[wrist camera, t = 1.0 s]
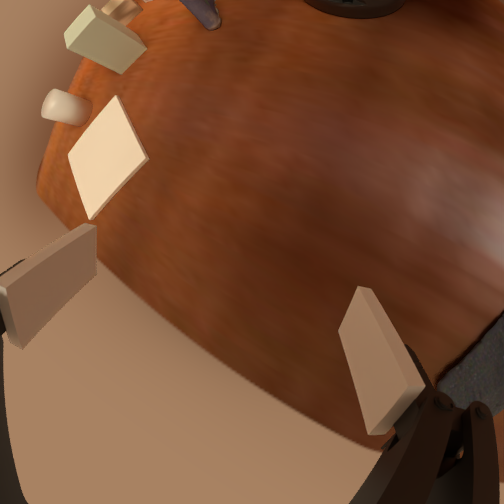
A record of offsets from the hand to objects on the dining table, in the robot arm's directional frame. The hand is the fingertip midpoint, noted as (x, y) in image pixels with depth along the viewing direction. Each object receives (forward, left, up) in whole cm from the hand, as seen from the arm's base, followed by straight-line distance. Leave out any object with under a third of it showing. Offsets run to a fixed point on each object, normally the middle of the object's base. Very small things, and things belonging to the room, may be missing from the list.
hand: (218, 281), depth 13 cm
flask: (-9, -35, -18) cm, 40 cm away
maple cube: (+1, -52, -18) cm, 55 cm away
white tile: (+17, -27, -17) cm, 36 cm away
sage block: (+5, -41, -17) cm, 45 cm away
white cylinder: (+18, -39, -17) cm, 46 cm away
